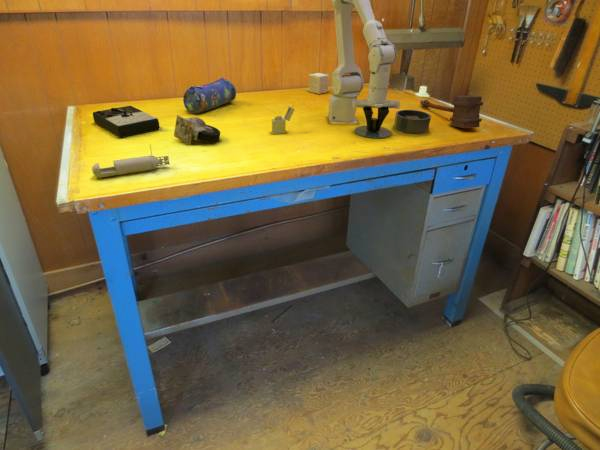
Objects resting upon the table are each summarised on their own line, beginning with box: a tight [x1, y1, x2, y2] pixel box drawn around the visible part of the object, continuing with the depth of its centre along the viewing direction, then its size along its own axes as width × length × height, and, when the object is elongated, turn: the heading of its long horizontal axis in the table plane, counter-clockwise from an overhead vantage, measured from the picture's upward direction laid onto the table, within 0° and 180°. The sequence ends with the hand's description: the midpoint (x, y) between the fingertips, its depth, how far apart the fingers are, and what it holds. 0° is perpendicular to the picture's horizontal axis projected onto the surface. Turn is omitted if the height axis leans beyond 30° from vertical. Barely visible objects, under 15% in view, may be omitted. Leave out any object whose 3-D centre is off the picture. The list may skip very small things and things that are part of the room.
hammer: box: [420, 95, 484, 129], centre depth 153 cm, size 7×33×10 cm, turn 16°
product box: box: [308, 72, 330, 95], centre depth 180 cm, size 6×6×7 cm
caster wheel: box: [173, 114, 221, 146], centre depth 125 cm, size 7×11×10 cm
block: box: [405, 116, 420, 119], centre depth 140 cm, size 4×4×4 cm
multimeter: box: [92, 105, 160, 139], centre depth 133 cm, size 13×19×5 cm
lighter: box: [271, 106, 295, 135], centre depth 133 cm, size 7×2×8 cm, turn 112°
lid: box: [353, 117, 393, 140], centre depth 135 cm, size 12×12×5 cm
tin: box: [393, 109, 432, 135], centre depth 139 cm, size 11×11×5 cm
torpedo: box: [91, 144, 170, 179], centre depth 103 cm, size 18×5×7 cm, turn 118°
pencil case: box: [182, 77, 237, 115], centre depth 153 cm, size 22×9×10 cm, turn 150°
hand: (372, 130), depth 135 cm, fingers closed on lid, 2 cm apart
